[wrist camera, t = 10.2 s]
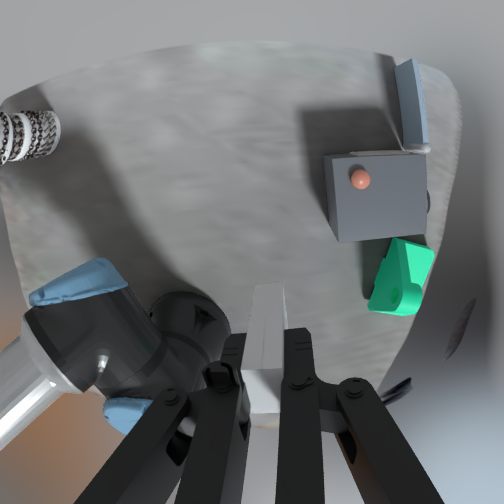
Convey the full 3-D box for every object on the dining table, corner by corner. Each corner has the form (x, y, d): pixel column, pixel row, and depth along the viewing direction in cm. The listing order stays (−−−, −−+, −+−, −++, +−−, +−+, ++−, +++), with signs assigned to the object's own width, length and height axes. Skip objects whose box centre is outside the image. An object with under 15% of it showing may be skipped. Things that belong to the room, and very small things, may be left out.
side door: (402, 149, 36) (423, 152, 29) (392, 66, 31) (410, 56, 25) (411, 149, 35) (432, 152, 29) (400, 67, 31) (419, 57, 25)
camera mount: (403, 308, 45) (424, 344, 36) (365, 301, 45) (382, 340, 36) (429, 245, 41) (460, 273, 31) (390, 234, 41) (417, 262, 31)
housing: (412, 216, 39) (436, 234, 32) (329, 224, 41) (339, 244, 33) (409, 149, 35) (436, 153, 28) (322, 153, 37) (332, 157, 30)
